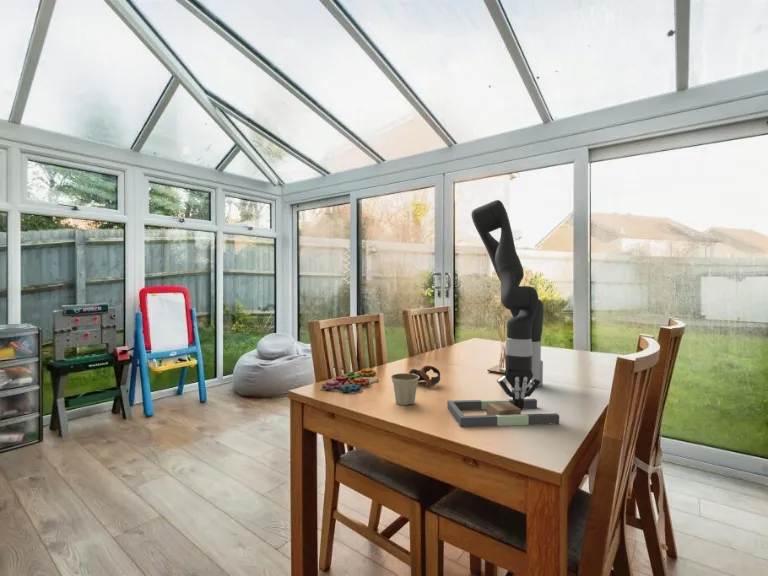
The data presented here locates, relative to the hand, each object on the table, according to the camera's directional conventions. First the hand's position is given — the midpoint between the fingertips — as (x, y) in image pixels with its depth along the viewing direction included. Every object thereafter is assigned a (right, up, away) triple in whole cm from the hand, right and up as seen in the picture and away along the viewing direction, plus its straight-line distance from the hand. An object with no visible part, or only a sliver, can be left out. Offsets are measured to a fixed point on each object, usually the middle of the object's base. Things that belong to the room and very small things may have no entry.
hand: (517, 410), depth 119 cm
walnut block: (-5, -2, -2) cm, 6 cm away
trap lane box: (-5, -2, 0) cm, 5 cm away
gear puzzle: (-51, -1, +37) cm, 63 cm away
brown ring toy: (-25, -1, +34) cm, 42 cm away
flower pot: (-33, -1, +12) cm, 35 cm away
